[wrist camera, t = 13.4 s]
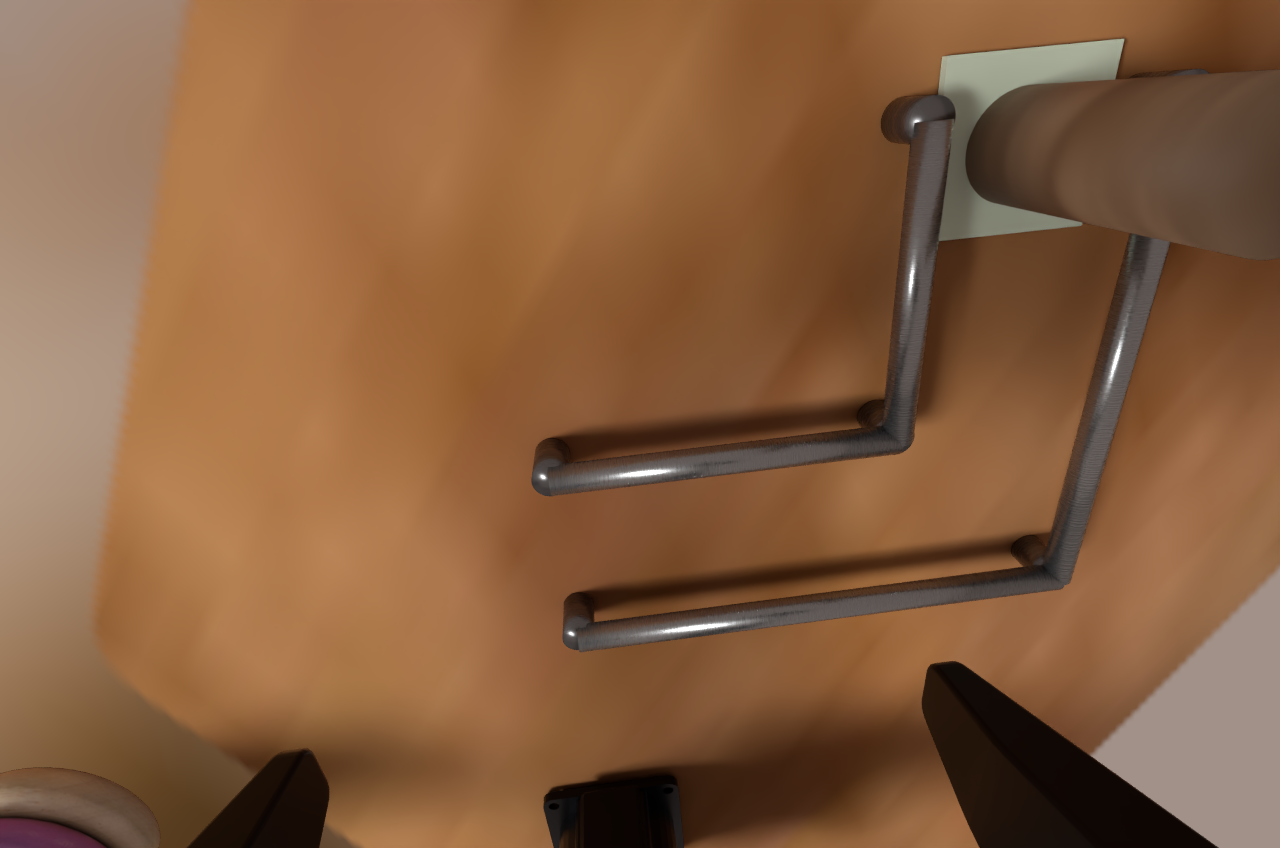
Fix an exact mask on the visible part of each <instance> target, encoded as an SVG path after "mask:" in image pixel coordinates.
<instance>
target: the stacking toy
mask: <svg viewBox="0 0 1280 848" xmlns="http://www.w3.org/2000/svg"><path fill="white" fill-rule="evenodd" d="M159 845H160V830H159V826H158V823H157V820H156V818H155V816H154V815H153V813H152V812H151V810H150V809H149V808H148V806H147V805H146V804H145V803H144V802H143V801H142V800H140V799H139V798H138V797H137V796H136V795H134V794H133V793H131V792H130V791H129V790H127V789H125V788H124V787H122V786H120V785H118V784H116V783H114V782H111V781H109V780H107V779H105V778H102V777H99V776H96V775H93V774H89V773H86V772H81V771H76V770H69V769H62V768H25V769H18V770H12V771H8V772H4V773H0V848H159Z"/></svg>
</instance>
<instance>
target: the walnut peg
mask: <svg viewBox="0 0 1280 848" xmlns="http://www.w3.org/2000/svg"><path fill="white" fill-rule="evenodd" d="M965 165H966V173H967V177H968V180H969V182H970V184H971V186H972V188H973V189H974V190H975V192H976V193H977V194H978V195H979V196H980V197H982V198H983V199H985V200H987V201H989V202H992V203H996V204H1000V205H1005V206H1009V207H1014V208H1018V209H1023V210H1027V211H1032V212H1037V213H1041V214H1046V215H1050V216H1055V217H1059V218H1064V219H1068V220H1073V221H1078V222H1082V223H1087V224H1091V225H1096V226H1100V227H1105V228H1109V229H1114V230H1119V231H1123V232H1128V233H1132V234H1137V235H1141V236H1146V237H1150V238H1155V239H1160V240H1164V241H1169V242H1173V243H1178V244H1182V245H1187V246H1192V247H1196V248H1201V249H1205V250H1210V251H1214V252H1219V253H1223V254H1228V255H1233V256H1237V257H1242V258H1246V259H1252V260H1272V259H1277V258H1280V69H1277V70H1260V71H1244V72H1228V73H1212V74H1196V75H1179V76H1163V77H1147V78H1131V79H1115V80H1098V81H1082V82H1066V83H1050V84H1034V85H1026V86H1021V87H1018V88H1015V89H1013V90H1011V91H1009V92H1007V93H1005V94H1004V95H1002V96H1000V97H999V98H998V99H997V100H995V101H994V102H993V103H992V104H991V105H990V106H989V107H988V108H987V109H986V110H985V112H984V113H983V114H982V115H981V117H980V118H979V120H978V121H977V123H976V125H975V127H974V128H973V131H972V133H971V135H970V138H969V141H968V144H967V149H966V157H965Z"/></svg>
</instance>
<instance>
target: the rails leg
mask: <svg viewBox="0 0 1280 848" xmlns="http://www.w3.org/2000/svg"><path fill="white" fill-rule="evenodd" d="M1196 74H1209V73H1208V72H1207V71H1206V70H1203V69H1190V70H1176V71H1163V72H1149V73H1139V74H1136V75H1134V76H1132V77H1130V78H1129V79H1131V78H1147V77H1163V76H1179V75H1196ZM955 119H956V111H955V107H954V105H953V103H952V101H951V100H950V99H949V98H947V97H946V96H943V95H925V96H907V97H900V98H897V99H895V100H894V101H892V102H891V103H890V104H889V105H888V106H887V107H886V109H885V111H884V113H883V115H882V119H881V129H882V133H883V135H884V136H885V138H886V139H887V140H889V141H890V142H893V143H901V144H910V152H909V162H908V171H907V181H906V191H905V201H904V211H903V221H902V231H901V241H900V250H899V260H898V270H897V280H896V290H895V300H894V310H893V320H892V329H891V339H890V349H889V359H888V369H887V379H886V389H885V399H884V408H883V418H882V427H883V428H884V429H885V430H886V431H887V432H889V433H890V434H891V435H892V436H893V437H894V438H895V439H896V440H897V441H898V442H899V443H901V444H902V445H903V446H907V445H910V444H911V443H912V442H913V437H914V430H915V422H916V414H917V406H918V399H919V391H920V383H921V375H922V368H923V360H924V352H925V344H926V336H927V329H928V321H929V313H930V305H931V298H932V290H933V282H934V274H935V267H936V259H937V251H938V243H939V235H940V228H941V220H942V212H943V204H944V197H945V189H946V181H947V173H948V166H949V158H950V150H951V142H952V135H953V127H954V123H955ZM1170 243H1171V242H1169V241H1164V240H1160V239H1155V238H1150V237H1146V236H1141V235H1137V234H1132V233H1130V234H1129V238H1128V242H1127V246H1126V250H1125V253H1124V257H1123V261H1122V265H1121V268H1120V272H1119V276H1118V280H1117V284H1116V287H1115V291H1114V295H1113V299H1112V303H1111V306H1110V310H1109V314H1108V318H1107V321H1106V325H1105V329H1104V333H1103V337H1102V340H1101V344H1100V348H1099V352H1098V355H1097V359H1096V363H1095V367H1094V371H1093V374H1092V378H1091V382H1090V386H1089V390H1088V393H1087V397H1086V401H1085V405H1084V408H1083V412H1082V416H1081V420H1080V424H1079V427H1078V431H1077V435H1076V439H1075V442H1074V446H1073V450H1072V454H1071V458H1070V461H1069V465H1068V469H1067V473H1066V477H1065V480H1064V484H1063V488H1062V492H1061V495H1060V499H1059V503H1058V507H1057V511H1056V514H1055V518H1054V522H1053V526H1052V530H1051V533H1050V537H1049V541H1048V545H1047V548H1046V552H1045V556H1044V560H1043V564H1042V565H1043V566H1044V567H1045V568H1046V569H1047V570H1048V571H1049V572H1050V573H1051V574H1053V575H1054V576H1055V577H1056V578H1057V579H1058V580H1059V581H1060V582H1061V583H1062V584H1064V585H1067V584H1069V583H1070V582H1071V578H1072V575H1073V572H1074V568H1075V565H1076V561H1077V558H1078V555H1079V551H1080V548H1081V545H1082V541H1083V538H1084V534H1085V531H1086V528H1087V524H1088V521H1089V517H1090V514H1091V511H1092V507H1093V504H1094V501H1095V497H1096V494H1097V490H1098V487H1099V484H1100V480H1101V477H1102V473H1103V470H1104V467H1105V463H1106V460H1107V457H1108V453H1109V450H1110V446H1111V443H1112V440H1113V436H1114V433H1115V429H1116V426H1117V423H1118V419H1119V416H1120V413H1121V409H1122V406H1123V402H1124V399H1125V396H1126V392H1127V389H1128V385H1129V382H1130V379H1131V375H1132V372H1133V369H1134V365H1135V362H1136V358H1137V355H1138V352H1139V348H1140V345H1141V341H1142V338H1143V335H1144V331H1145V328H1146V325H1147V321H1148V318H1149V314H1150V311H1151V308H1152V304H1153V301H1154V297H1155V294H1156V291H1157V287H1158V284H1159V281H1160V277H1161V274H1162V270H1163V267H1164V264H1165V260H1166V257H1167V253H1168V250H1169V247H1170Z"/></svg>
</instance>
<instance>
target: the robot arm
mask: <svg viewBox="0 0 1280 848" xmlns="http://www.w3.org/2000/svg"><path fill="white" fill-rule="evenodd" d="M922 710H923V714H924V718H925V720H926V723H927V725H928V728H929V730H930V733H931V735H932V737H933V740H934V742H935V745H936V747H937V750H938V752H939V755H940V757H941V760H942V762H943V765H944V767H945V769H946V772H947V774H948V777H949V779H950V782H951V784H952V787H953V789H954V792H955V794H956V797H957V799H958V801H959V804H960V806H961V809H962V811H963V813H964V816H965V818H966V820H967V823H968V825H969V827H970V829H971V831H972V833H973V835H974V837H975V839H976V841H977V843H978V845H979V847H980V848H1218V847H1217V846H1215V845H1214V844H1213V843H1211V842H1210V841H1208V840H1207V839H1206V838H1204V837H1203V836H1201V835H1200V834H1199V833H1197V832H1196V831H1194V830H1193V829H1191V828H1190V827H1189V826H1187V825H1186V824H1185V823H1183V822H1182V821H1181V820H1179V819H1178V818H1176V817H1175V816H1174V815H1172V814H1171V813H1169V812H1168V811H1167V810H1165V809H1164V808H1162V807H1161V806H1160V805H1158V804H1157V803H1155V802H1154V801H1153V800H1151V799H1150V798H1148V797H1147V796H1146V795H1144V794H1143V793H1141V792H1140V791H1139V790H1137V789H1136V788H1135V787H1133V786H1132V785H1130V784H1129V783H1128V782H1126V781H1125V780H1123V779H1122V778H1121V777H1119V776H1118V775H1116V774H1115V773H1114V772H1112V771H1111V770H1109V769H1108V768H1107V767H1105V766H1104V765H1102V764H1101V763H1100V762H1098V761H1097V760H1096V759H1094V758H1093V757H1091V756H1090V755H1089V754H1087V753H1086V752H1084V751H1083V750H1082V749H1080V748H1079V747H1077V746H1076V745H1075V744H1073V743H1072V742H1070V741H1069V740H1068V739H1066V738H1065V737H1064V736H1062V735H1061V734H1059V733H1058V732H1057V731H1055V730H1054V729H1052V728H1051V727H1050V726H1048V725H1047V724H1045V723H1044V722H1043V721H1041V720H1040V719H1038V718H1037V717H1036V716H1034V715H1033V714H1031V713H1030V712H1029V711H1027V710H1026V709H1025V708H1023V707H1022V706H1020V705H1019V704H1018V703H1016V702H1015V701H1013V700H1012V699H1011V698H1009V697H1008V696H1006V695H1005V694H1004V693H1002V692H1001V691H999V690H998V689H997V688H995V687H994V686H992V685H991V684H990V683H988V682H987V681H985V680H984V679H983V678H981V677H980V676H979V675H977V674H976V673H974V672H973V671H972V670H970V669H969V668H967V667H966V666H965V665H963V664H961V663H959V662H956V661H949V662H941V663H934V664H931V665H930V666H929V667H928V669H927V673H926V679H925V685H924V690H923V696H922ZM328 802H329V785H328V782H327V779H326V777H325V775H324V773H323V771H322V769H321V767H320V766H319V764H318V762H317V760H316V758H315V756H314V754H313V752H312V751H311V750H309V749H306V748H303V749H296V750H289V751H283V752H280V753H278V754H277V755H275V756H274V757H273V758H272V759H271V760H270V761H269V762H268V763H267V764H266V765H265V766H264V767H263V768H262V769H261V770H260V771H259V772H258V773H257V774H256V775H255V776H254V777H253V779H252V780H251V781H250V782H249V783H248V784H247V785H246V786H245V787H244V788H243V789H242V790H241V791H240V792H239V793H238V794H237V795H236V796H235V797H234V798H233V799H232V801H231V802H230V803H229V804H228V805H227V806H226V807H225V808H224V809H223V810H222V811H221V812H220V813H219V814H218V815H217V816H216V817H215V818H214V819H213V821H211V823H210V824H209V825H208V826H207V827H206V828H205V829H204V830H203V831H202V832H201V833H200V834H199V835H198V836H197V837H196V838H195V839H194V840H193V841H192V842H191V844H190V845H189V846H188V847H187V848H319V846H320V841H321V836H322V832H323V827H324V822H325V817H326V812H327V807H328ZM544 812H545V816H546V819H547V823H548V827H549V831H550V835H551V839H552V842H553V846H554V848H684V842H683V832H682V821H681V811H680V800H679V790H678V783H677V779H676V778H675V777H672V776H663V777H656V778H649V779H642V780H635V781H627V782H620V783H613V784H606V785H599V786H591V787H584V788H577V789H570V790H563V791H555V792H550V793H548V794H546V795H545V797H544Z"/></svg>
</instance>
